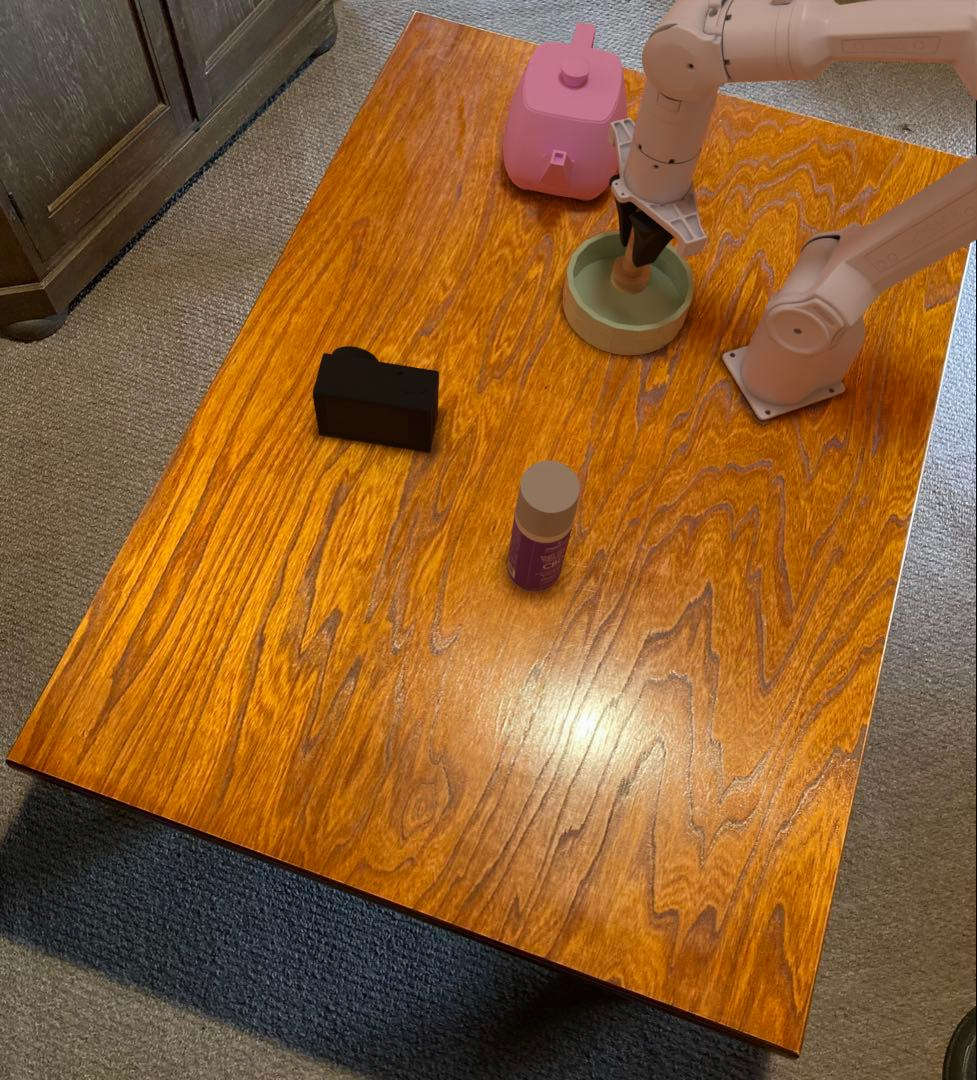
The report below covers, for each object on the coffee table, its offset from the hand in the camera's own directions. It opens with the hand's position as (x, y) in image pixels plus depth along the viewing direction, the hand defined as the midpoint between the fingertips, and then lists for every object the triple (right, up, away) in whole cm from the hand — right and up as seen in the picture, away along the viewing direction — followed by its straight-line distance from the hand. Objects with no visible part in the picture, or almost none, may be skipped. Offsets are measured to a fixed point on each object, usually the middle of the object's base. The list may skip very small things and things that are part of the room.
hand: (637, 251), depth 100 cm
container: (-10, -29, -6) cm, 31 cm away
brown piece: (0, -2, +3) cm, 4 cm away
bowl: (0, -3, +7) cm, 8 cm away
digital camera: (-24, -16, 0) cm, 28 cm away
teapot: (-6, +13, +15) cm, 20 cm away
